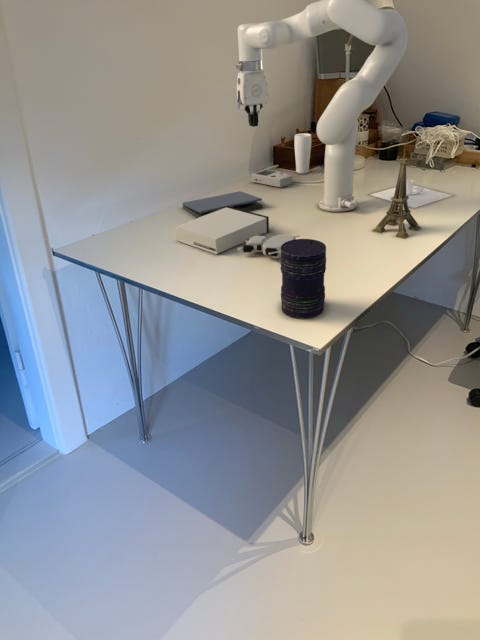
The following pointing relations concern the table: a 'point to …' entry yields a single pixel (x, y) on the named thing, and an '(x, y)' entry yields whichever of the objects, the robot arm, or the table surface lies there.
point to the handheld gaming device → (272, 178)
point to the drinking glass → (302, 152)
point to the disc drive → (222, 229)
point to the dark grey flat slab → (242, 207)
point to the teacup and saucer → (414, 195)
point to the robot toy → (266, 245)
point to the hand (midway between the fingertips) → (253, 125)
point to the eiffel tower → (399, 201)
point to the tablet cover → (221, 201)
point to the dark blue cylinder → (303, 278)
